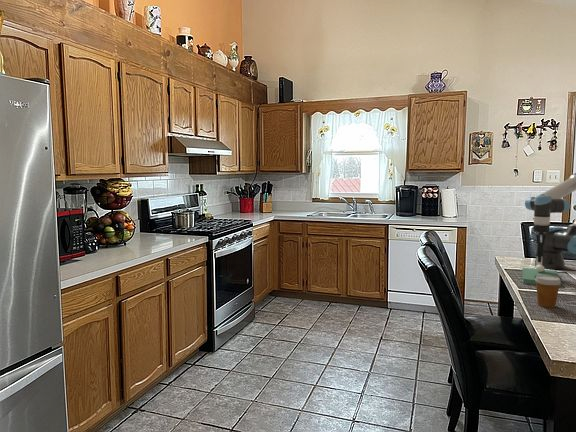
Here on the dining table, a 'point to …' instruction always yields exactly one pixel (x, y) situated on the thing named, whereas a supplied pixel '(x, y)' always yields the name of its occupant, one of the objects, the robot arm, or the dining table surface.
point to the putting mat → (531, 274)
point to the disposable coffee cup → (547, 290)
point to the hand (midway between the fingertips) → (538, 267)
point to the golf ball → (540, 268)
